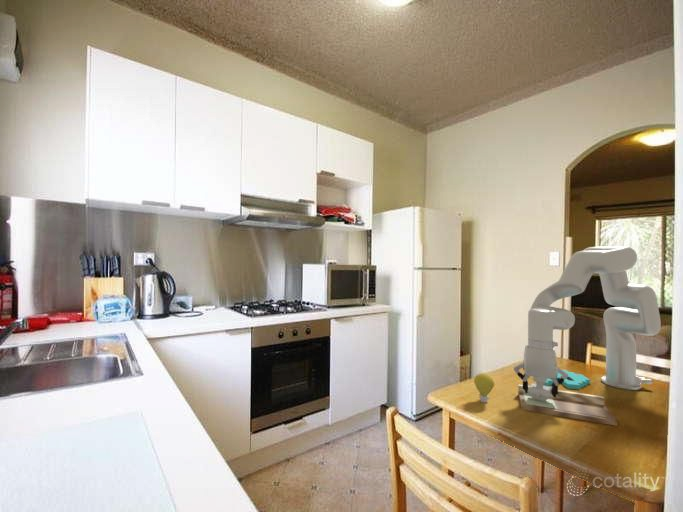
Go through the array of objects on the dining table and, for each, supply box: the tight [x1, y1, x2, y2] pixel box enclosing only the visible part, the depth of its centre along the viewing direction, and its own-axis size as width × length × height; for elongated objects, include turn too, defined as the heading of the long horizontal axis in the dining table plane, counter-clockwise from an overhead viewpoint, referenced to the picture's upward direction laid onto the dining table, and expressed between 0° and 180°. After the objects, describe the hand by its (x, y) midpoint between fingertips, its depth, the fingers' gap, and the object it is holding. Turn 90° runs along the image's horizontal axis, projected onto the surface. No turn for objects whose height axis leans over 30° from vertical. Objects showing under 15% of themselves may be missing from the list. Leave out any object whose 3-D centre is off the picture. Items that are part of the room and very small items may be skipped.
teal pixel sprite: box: [543, 369, 591, 390], centre depth 140 cm, size 20×2×20 cm
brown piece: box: [517, 383, 618, 427], centre depth 113 cm, size 26×13×4 cm, turn 67°
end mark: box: [523, 393, 557, 409], centre depth 116 cm, size 9×10×1 cm
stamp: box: [527, 376, 552, 401], centre depth 116 cm, size 9×7×8 cm
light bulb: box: [473, 372, 495, 403], centre depth 119 cm, size 7×7×10 cm
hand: (539, 393), depth 116 cm, fingers closed on stamp, 7 cm apart
